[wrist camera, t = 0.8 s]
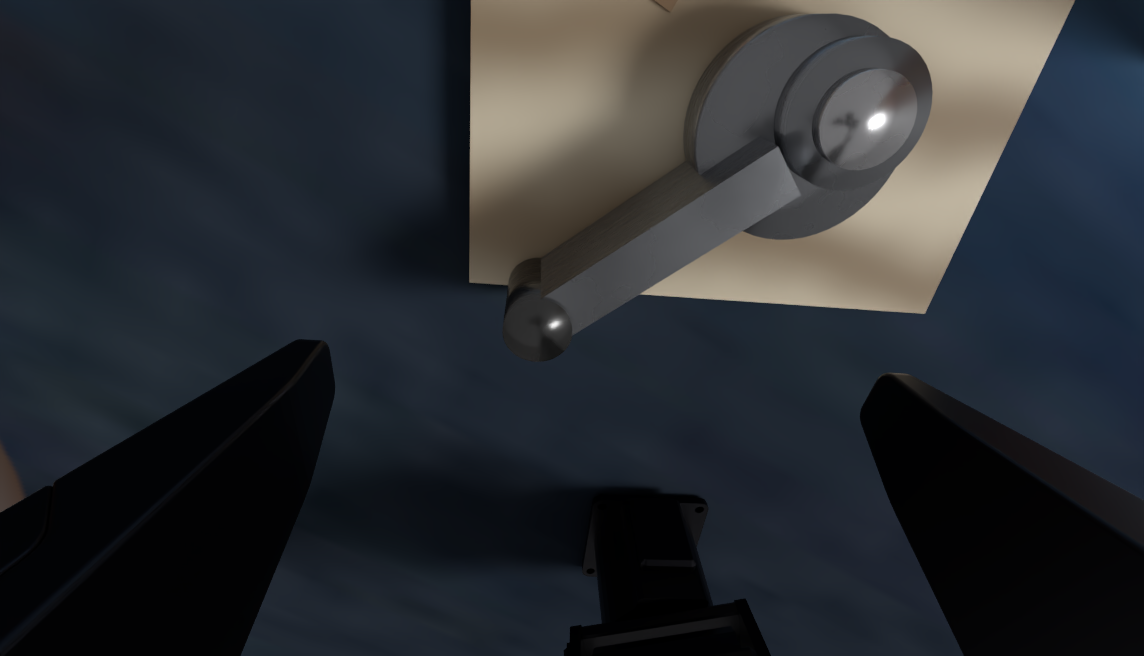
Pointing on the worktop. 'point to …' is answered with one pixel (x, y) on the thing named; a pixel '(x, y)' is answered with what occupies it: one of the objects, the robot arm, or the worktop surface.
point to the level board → (656, 125)
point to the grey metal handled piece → (740, 168)
